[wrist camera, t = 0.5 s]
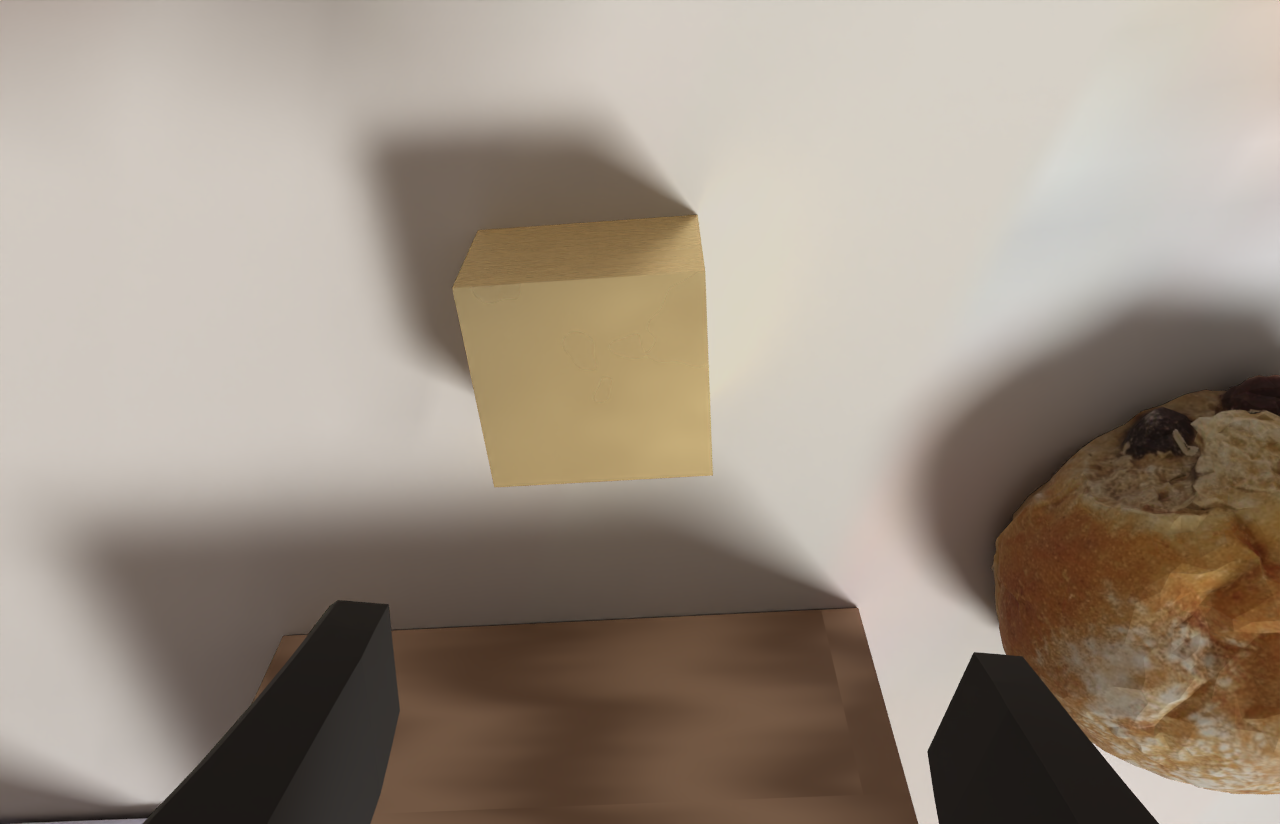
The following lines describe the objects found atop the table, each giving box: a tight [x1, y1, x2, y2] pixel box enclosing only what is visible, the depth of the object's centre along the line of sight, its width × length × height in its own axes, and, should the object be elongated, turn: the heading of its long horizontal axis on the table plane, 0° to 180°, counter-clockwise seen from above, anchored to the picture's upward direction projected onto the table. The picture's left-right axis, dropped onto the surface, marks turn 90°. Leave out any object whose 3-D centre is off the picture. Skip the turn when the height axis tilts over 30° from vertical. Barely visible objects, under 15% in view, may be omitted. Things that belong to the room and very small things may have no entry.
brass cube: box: [452, 215, 713, 487], centre depth 18 cm, size 4×4×3 cm
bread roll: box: [991, 375, 1280, 794], centre depth 20 cm, size 10×10×8 cm
